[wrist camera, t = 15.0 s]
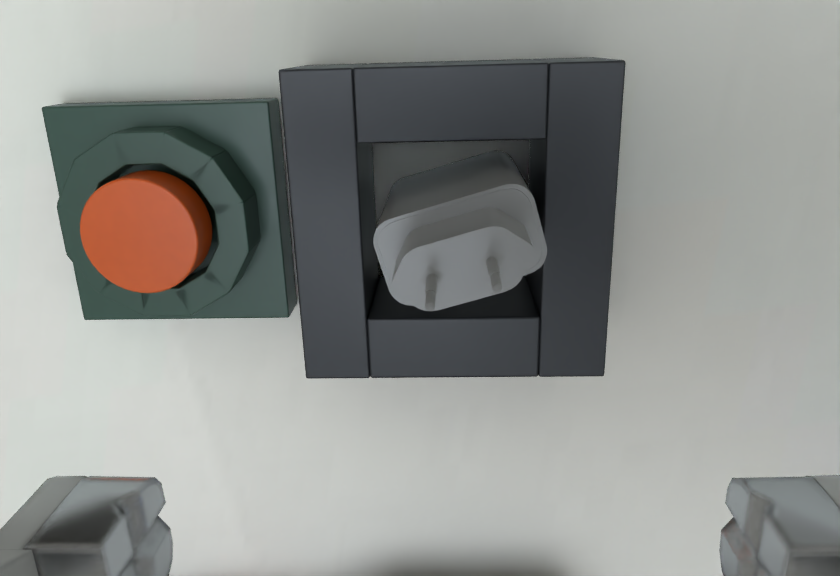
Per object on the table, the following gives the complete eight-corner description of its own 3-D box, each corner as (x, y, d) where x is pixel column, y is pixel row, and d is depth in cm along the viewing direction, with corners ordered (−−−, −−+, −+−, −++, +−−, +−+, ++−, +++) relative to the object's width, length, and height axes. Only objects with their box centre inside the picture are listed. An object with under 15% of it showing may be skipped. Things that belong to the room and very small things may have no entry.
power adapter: (384, 183, 29) (346, 272, 18) (509, 145, 29) (550, 213, 17) (407, 251, 30) (383, 375, 19) (527, 216, 30) (578, 323, 18)
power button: (205, 168, 26) (189, 176, 25) (219, 278, 28) (205, 293, 26) (91, 170, 26) (68, 179, 25) (111, 279, 28) (90, 294, 26)
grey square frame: (595, 56, 27) (626, 60, 23) (580, 326, 31) (604, 377, 27) (306, 65, 28) (277, 69, 23) (326, 329, 32) (305, 379, 27)
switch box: (278, 98, 28) (256, 105, 25) (297, 303, 31) (279, 334, 28) (63, 103, 29) (13, 111, 25) (101, 306, 32) (62, 337, 28)
